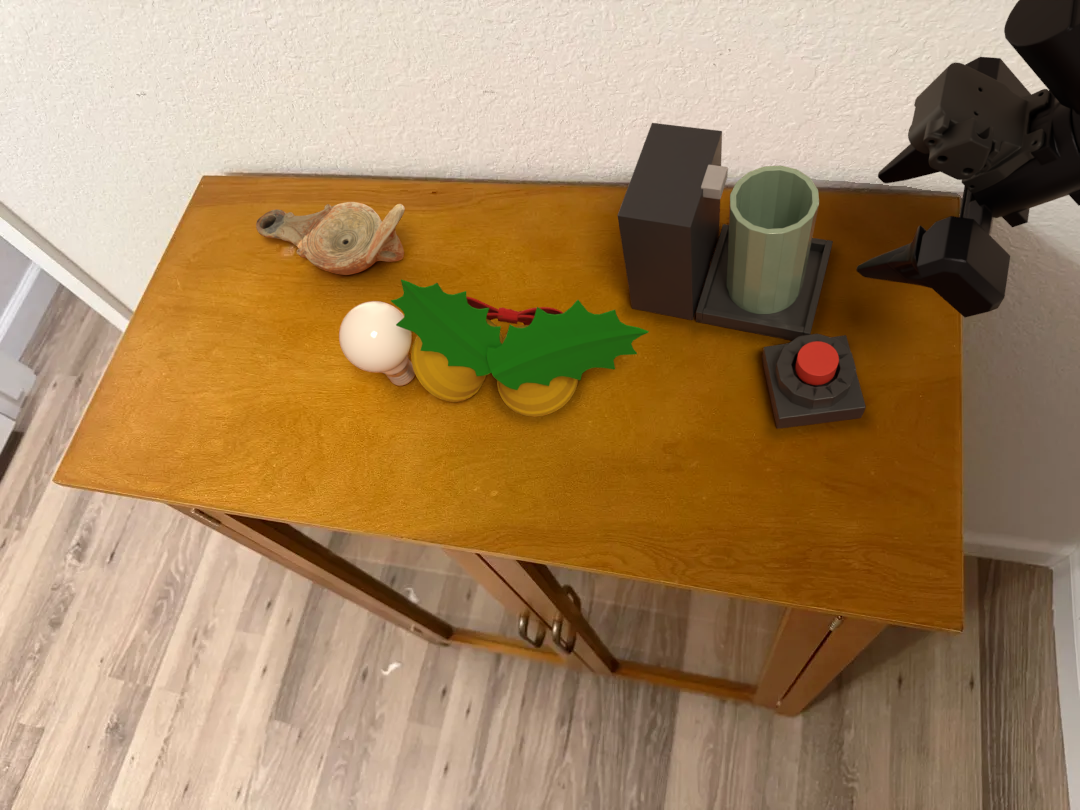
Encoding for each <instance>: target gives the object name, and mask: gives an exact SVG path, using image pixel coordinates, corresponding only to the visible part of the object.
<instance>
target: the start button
mask: <svg viewBox="0 0 1080 810" xmlns="http://www.w3.org/2000/svg"><path fill="white" fill-rule="evenodd" d="M838 363H839V356H838V353H837V351H836V350H835V349H834V348H833V347H832V346H831V345H829V344H827V343H825V342H819V341H816V342H810V343H808V344H806V345H804V346H803V347H802V348H801V349H800V351H799V353H798V356H797V361H796V365H795V369H796V373H797V375H798V377H799V378H800V379H801V380H802V381H804V382H805V383H808V384H811V385H822V384H825V383H827V382H829V381H830V380H831V379H832V378H833V377H834V375H835V372H836V369H837V366H838Z"/></svg>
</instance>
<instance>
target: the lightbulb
mask: <svg viewBox="0 0 1080 810" xmlns="http://www.w3.org/2000/svg"><path fill="white" fill-rule="evenodd" d="M403 318H404V313H403V312H401V310H399V308H398V307H397V306H394V305H392V304H390V303H387V302H384V301H380V300H379V301H378V300H370V301H365V302H362V303H359V304H357V305H356V306H354V307H353V308H351V309H350V310H349V311H348V312H347V313H346V315H345V316H344V317H343V319H342V321H341V323H340V326H339V331H338V332H339V333H338V341H339V346H340V349H341V351H342V353H343V355H344V357H345V358H346V359H347V361H349V362H350V363H351V364H352V365H353V366H355V367H356V368H358V369H360V370H361V371H364V372H368V373H382V374H383V375H385V376H386V377H387V379H388V380H389V381H390V382H391V383H392V384H393V385H395V386H398V387H401V386H405V385H408V384H409V383H411V382H412V381H413V379H414V378H415V377H416V375H415V372H414V370H413V366H412V360H410V359H409V352H410V350H411V348H412V347H411V346H412V339H413V337H412V335H413V334H412V331H409V330H406V329H404V328H401V327H398V326H396V324H397V323H398V322H399V321H401V320H402V319H403Z"/></svg>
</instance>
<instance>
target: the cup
mask: <svg viewBox="0 0 1080 810" xmlns="http://www.w3.org/2000/svg"><path fill="white" fill-rule="evenodd" d="M819 195H820V194H819V189H818V187H817V186H816V185H815V183H814V181H813V180H812V178H811V177H810V176H808V175H807V174H805V173H804V172H802V171H801V170H799V169H797V168H794V167H789V166H785V165H767V166H762V167H759V168H756V169H753V170H751V171H748V172H747V173H746V174H744V175H743V176H742V177H741V178H739V179H738V180H737V181H736V182H735V184H734V186H733V188H732V190H731V192H730V194H729V209H728V225H729V228H728V251H727V273H726V286H727V291H728V294H729V296H730V298H731V299H732V301H733V302H734V303H735V304H736V305H737V306H739V307H740V308H742V309H744V310H745V311H748V312H751V313H755V314H772V313H777V312H780V311H782V310H784V309H786V308H788V307H789V306H790V305H792V304H793V303H794V302H795V300H796V299H797V298H798V296H799V294H800V292H801V288H802V286H803V281H804V276H805V271H806V266H807V261H808V256H809V251H810V246H811V241H812V238H814V237H813V236H814V231H815V226H816V222H817V216H818V213H819V212H818V211H819V207H820V196H819Z"/></svg>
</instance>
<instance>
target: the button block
mask: <svg viewBox="0 0 1080 810" xmlns="http://www.w3.org/2000/svg"><path fill="white" fill-rule="evenodd" d="M816 341H819V342H825V343H827V344H829V345H831V346H832V347H833V348H834V349H835V350H836V351H837V353H838V356H839V363H838V366H837V369H836V372H835V375H834V377H833V378H832V379H831V380H830V381H829V382H827V383H825V384H822V385H811V384H808V383H805V382H804V381H802V380H801V379H800V378H799V377H798V375H797V373H796V369H795V365H796V361H797V356H798V353H799V351H800V349H801V348H802V347H803V346H804V345H806V344H808V343H810V342H816ZM761 360H762V365H763V370H764V374H765V380H766V384H767V389H768V393H769V398H770V402H771V407H772V412H773V417H774V421H775V425H776V429H779V430H780V429H786V428H793V427H794V428H796V427H801V426H802V427H803V426H810V425H811V426H812V425H817V424H827V423H833V422H841V421H850V420H856V419H861V418H862V417H863V415H864V413H865V411H866V408H867V406H866V402H865V399H864V396H863V392H862V388H861V384H860V381H859V377H858V374H857V367H856V364H855V359H854V356H853V353H852V351H851V348H850V344H849V340H848V337H847V335H846V334H845V335H837V336H831V337H830V336H828V335H824V334H820V333H812V334H811V333H810V335H805V336H798V337H797V338H796V339H794V340H793V341H792V340H790V341H789V342H788V343H782V344H774V345H768V346H763V349H762V357H761Z"/></svg>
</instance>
